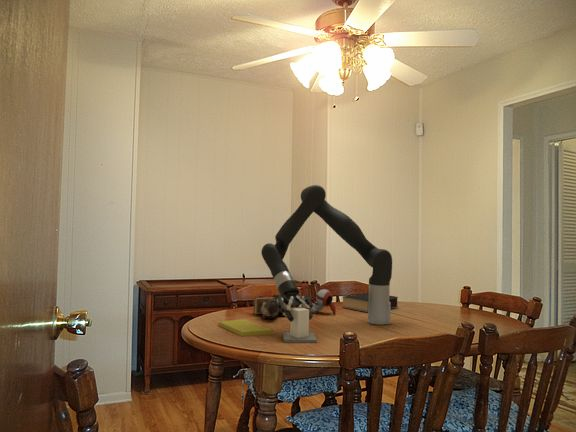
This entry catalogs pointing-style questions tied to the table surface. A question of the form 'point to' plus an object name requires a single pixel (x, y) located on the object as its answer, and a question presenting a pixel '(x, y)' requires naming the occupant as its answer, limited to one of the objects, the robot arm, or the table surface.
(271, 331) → the flat olive board
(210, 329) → the table surface
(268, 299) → the bookend
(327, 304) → the toy
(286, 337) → the slate pad
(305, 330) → the cream block
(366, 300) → the book
